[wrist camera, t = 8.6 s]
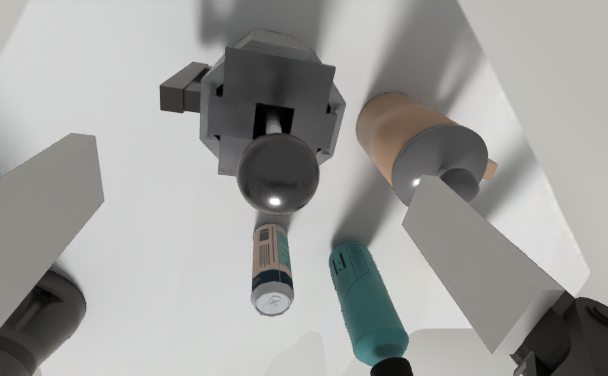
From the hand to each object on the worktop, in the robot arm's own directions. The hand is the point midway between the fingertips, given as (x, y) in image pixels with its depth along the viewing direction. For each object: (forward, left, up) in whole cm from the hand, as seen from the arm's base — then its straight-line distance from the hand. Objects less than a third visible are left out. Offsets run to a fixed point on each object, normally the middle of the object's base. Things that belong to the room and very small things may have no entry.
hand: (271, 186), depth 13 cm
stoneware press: (+17, -3, -23) cm, 29 cm away
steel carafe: (-1, 0, -23) cm, 23 cm away
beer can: (+3, -21, -24) cm, 32 cm away
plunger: (0, 0, -19) cm, 19 cm away
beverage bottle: (+15, -23, -24) cm, 36 cm away
